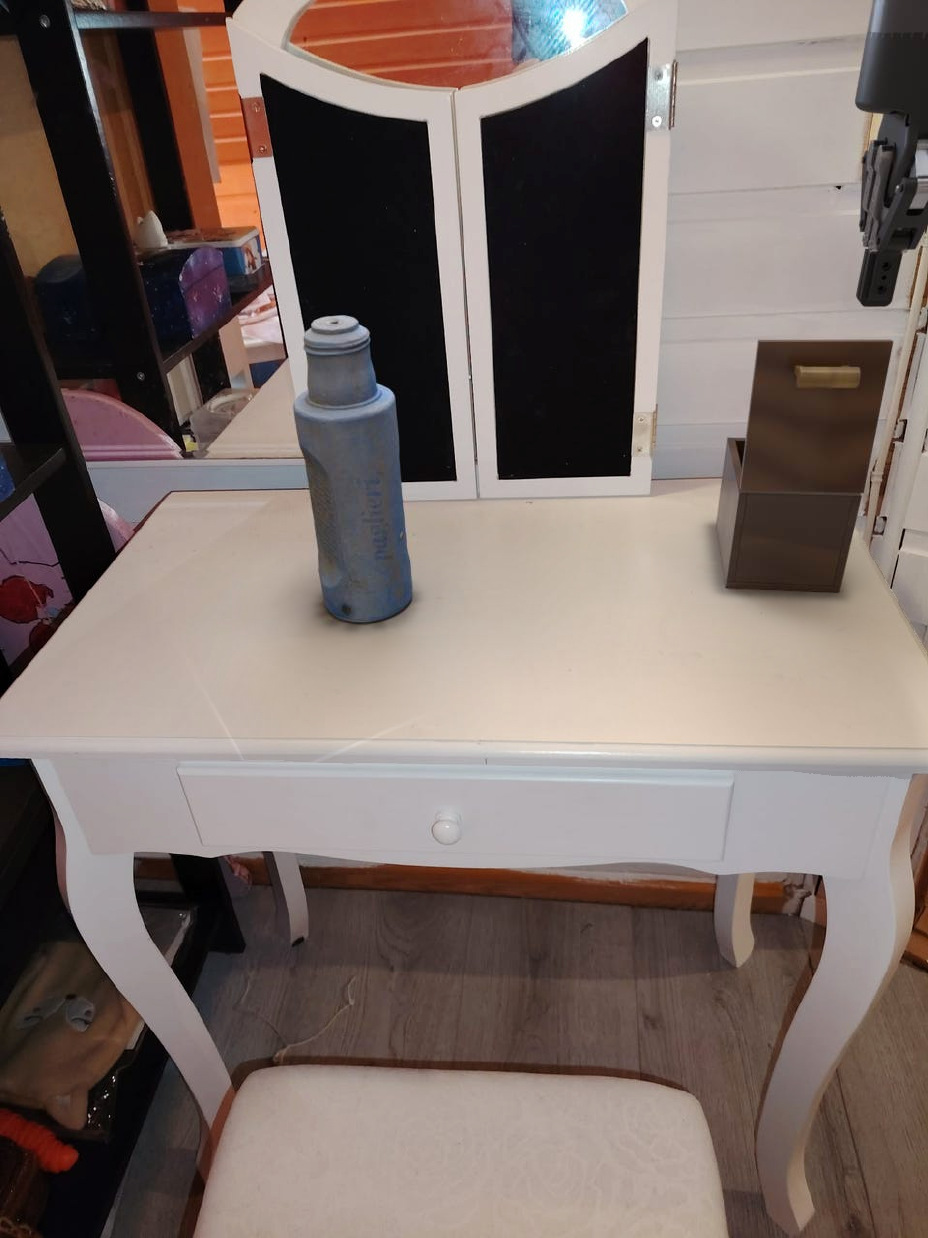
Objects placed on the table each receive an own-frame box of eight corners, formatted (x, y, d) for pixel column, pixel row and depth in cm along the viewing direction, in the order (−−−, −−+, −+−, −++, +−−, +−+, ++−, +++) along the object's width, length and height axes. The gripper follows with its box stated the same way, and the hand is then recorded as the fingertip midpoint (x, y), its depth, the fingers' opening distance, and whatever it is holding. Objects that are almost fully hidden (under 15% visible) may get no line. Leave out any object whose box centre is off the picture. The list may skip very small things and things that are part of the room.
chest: (715, 525, 105) (727, 437, 99) (817, 528, 104) (836, 438, 97) (725, 587, 94) (739, 493, 88) (839, 592, 93) (862, 496, 86)
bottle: (310, 593, 98) (261, 319, 80) (390, 566, 102) (359, 299, 84) (346, 635, 91) (300, 345, 74) (430, 604, 95) (405, 322, 77)
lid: (757, 339, 81) (765, 350, 77) (891, 339, 79) (906, 350, 75) (739, 487, 88) (745, 505, 84) (862, 490, 86) (874, 508, 82)
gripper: (848, 22, 61) (805, 280, 71) (894, 29, 51) (836, 332, 61) (964, 16, 60) (904, 279, 70) (1036, 22, 50) (952, 331, 60)
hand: (872, 303), depth 66 cm, fingers closed
